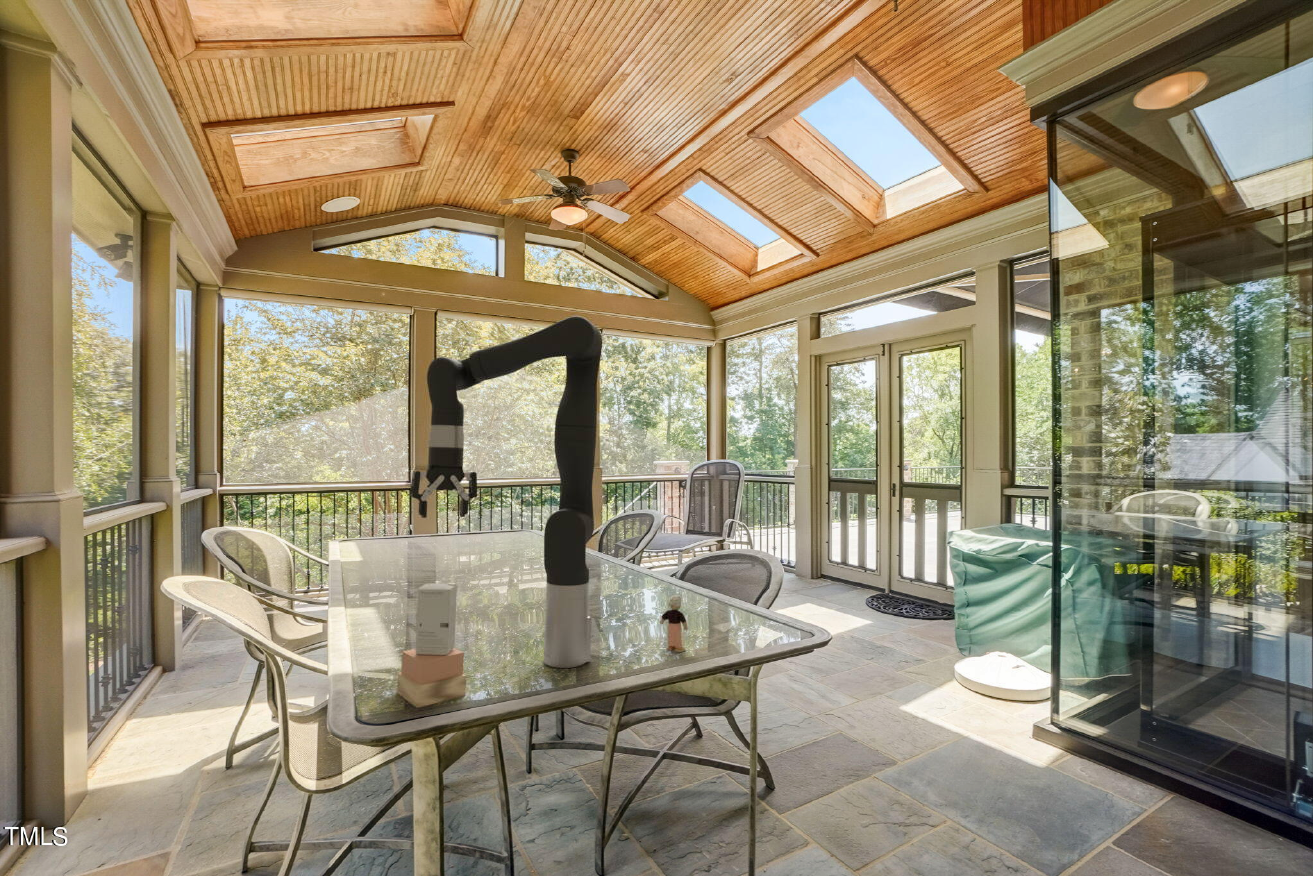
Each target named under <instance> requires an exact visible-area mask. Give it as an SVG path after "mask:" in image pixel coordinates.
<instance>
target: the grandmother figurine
mask: <svg viewBox="0 0 1313 876" xmlns="http://www.w3.org/2000/svg"><path fill="white" fill-rule="evenodd" d="M681 603H682V597H681V595H678V594H673V595H672V596H671V597H669V598H668V600H667V603H666V604H667V605H668V606H669V607H670V609H669V610H666V611H665V612H664V613H663V614H662V615H661V618H660V622H659V623H660V625H665V621H668V624H667V645H668V646H667V647H666V651H673V650H674V652H676V653H681V652H685V651H686V648H685V647H684V646H683V641H682V640H683V637H682V636H683V635H682V629H683V631H688V629H689V627H688V623H687V619H686V616H685V614H684V613H683V612H682V611H679V610H680V608H681V605H682V604H681ZM682 627H683V628H682Z"/></svg>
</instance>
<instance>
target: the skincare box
mask: <svg viewBox="0 0 1313 876" xmlns="http://www.w3.org/2000/svg"><path fill="white" fill-rule="evenodd" d="M457 591H458V584H454V583H453V584H452V583H429V582H428V583H425V584H423V585H422V586H420V587H419V588H418V591H417V592H418V593H417V610H416V611H417V612H416V613H417V617H416V637H415V638H416V640H415V649H416V654H424V655H447V654H449V653H450V652H451V651H452V649H453V648H455V643H456V641H455V640H456V620H457V618H456V617H457V596H458V593H457Z"/></svg>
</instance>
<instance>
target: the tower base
mask: <svg viewBox="0 0 1313 876" xmlns="http://www.w3.org/2000/svg"><path fill="white" fill-rule="evenodd" d="M396 684H397V685H396V693H397V692H398V693H397V694H398V695H399V694H400V695H399V696H401V695H402V696H403V697H404V698H403V697H402V696H401V697H402V698H403V699H405V700H406V701H408V702H409V703H410V704H411V705H412V706H413V707H416V708H417V709H418V708H421V707H426V706H429V705H433V704H436V703H441V702H445V701H449V700H452V699H456V698H461V697H465V696H466V691H467V690H466V689H467V687H466V686H467V675H466V674H464V673H463V674H462V675H458V676H454V677H450V678H446V679H443V680H439V681H435V682H431V683H427V684H423V685H420V684H419V683H417V682H415V681H414V680H412V679H410V678H409V677H407V676H405V675H404V674H402V671H400V672H397V683H396Z"/></svg>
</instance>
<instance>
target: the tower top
mask: <svg viewBox="0 0 1313 876" xmlns="http://www.w3.org/2000/svg"><path fill="white" fill-rule="evenodd" d="M401 652H402V654H401V655H402V656H401V672H402V674H404V675H405V676H407V677H409V678H410V679H412V680H414V681H415V682H417V683H419V684H420V685H423V684H427V683H431V682H435V681H439V680H443V679H446V678H450V677H454V676H458V675H462V674H464V654H465V653H464V652H463V651H461V650H460V649H457V648H455V647H454V648H453V649H452V651H451V652H450V653H449V654H447V655H424V654H416V648H412V649H407V650H404V651H401Z"/></svg>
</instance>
